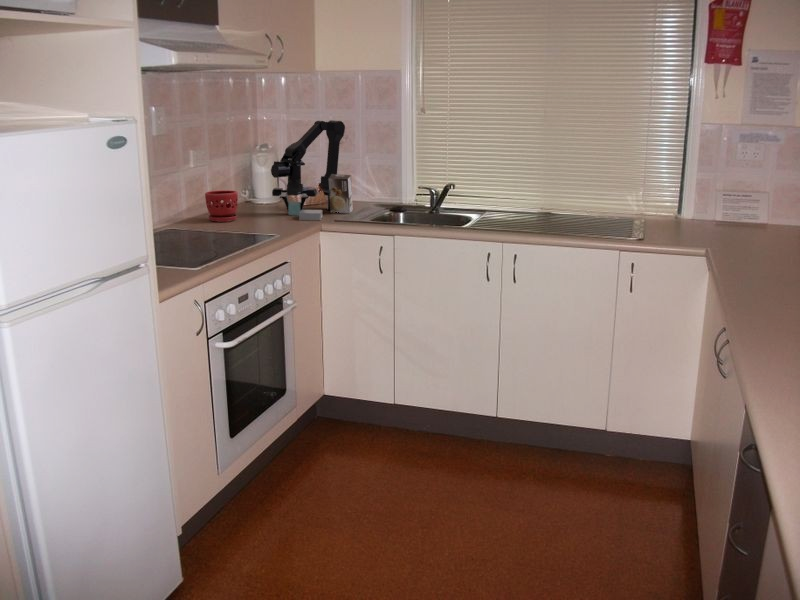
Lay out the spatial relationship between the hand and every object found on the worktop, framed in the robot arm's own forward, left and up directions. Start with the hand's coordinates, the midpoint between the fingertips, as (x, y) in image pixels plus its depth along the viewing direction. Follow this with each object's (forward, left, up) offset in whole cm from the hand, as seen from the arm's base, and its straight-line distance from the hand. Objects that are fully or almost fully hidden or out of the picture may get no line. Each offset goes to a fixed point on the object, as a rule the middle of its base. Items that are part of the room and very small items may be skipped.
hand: (294, 211), depth 351 cm
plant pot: (+18, -28, -1) cm, 33 cm away
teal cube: (0, 0, -1) cm, 1 cm away
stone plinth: (+10, +8, -1) cm, 13 cm away
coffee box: (-7, +20, -1) cm, 21 cm away
